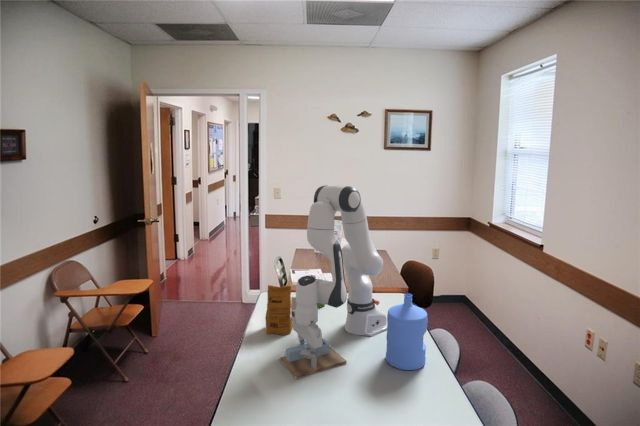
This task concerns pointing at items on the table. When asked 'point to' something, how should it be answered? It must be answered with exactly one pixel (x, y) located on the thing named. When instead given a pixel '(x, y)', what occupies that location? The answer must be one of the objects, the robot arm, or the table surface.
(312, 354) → the pintle keeper
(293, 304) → the supplement box
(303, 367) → the base board
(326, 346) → the link
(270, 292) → the coffee package
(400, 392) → the table surface
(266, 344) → the table surface
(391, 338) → the water jug
